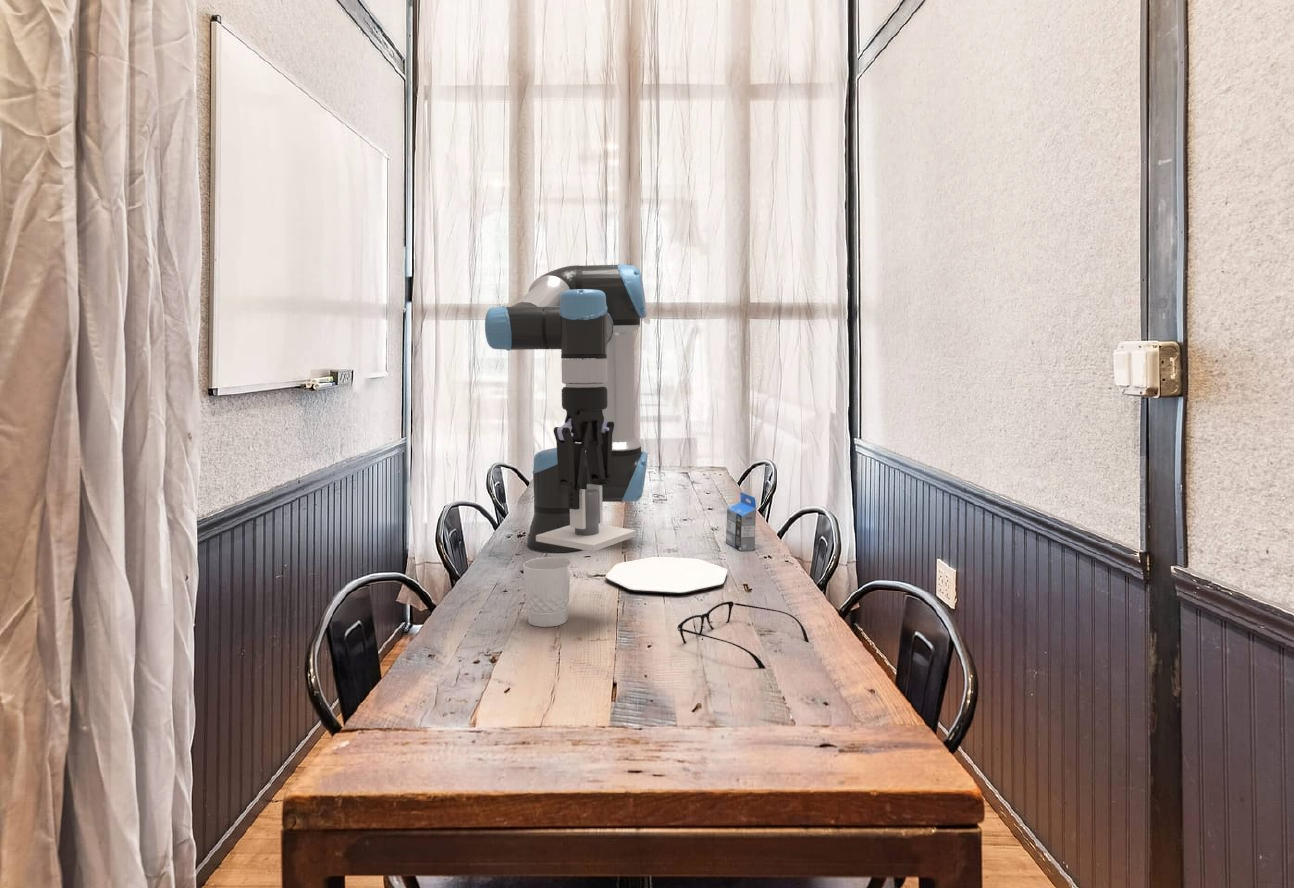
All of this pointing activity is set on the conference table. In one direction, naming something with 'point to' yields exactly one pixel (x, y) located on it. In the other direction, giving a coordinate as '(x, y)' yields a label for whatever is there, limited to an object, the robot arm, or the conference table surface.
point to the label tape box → (742, 524)
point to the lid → (587, 530)
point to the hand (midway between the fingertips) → (586, 524)
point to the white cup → (547, 590)
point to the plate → (667, 575)
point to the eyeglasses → (757, 660)
